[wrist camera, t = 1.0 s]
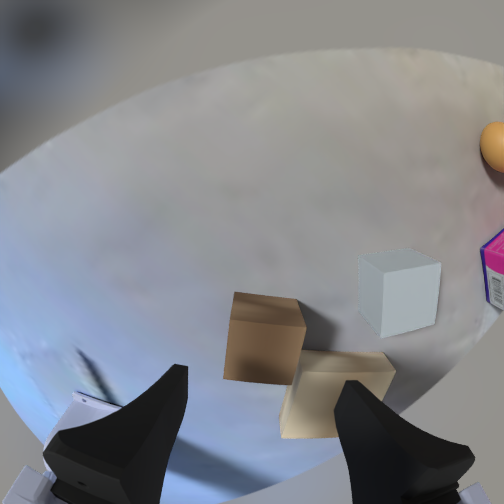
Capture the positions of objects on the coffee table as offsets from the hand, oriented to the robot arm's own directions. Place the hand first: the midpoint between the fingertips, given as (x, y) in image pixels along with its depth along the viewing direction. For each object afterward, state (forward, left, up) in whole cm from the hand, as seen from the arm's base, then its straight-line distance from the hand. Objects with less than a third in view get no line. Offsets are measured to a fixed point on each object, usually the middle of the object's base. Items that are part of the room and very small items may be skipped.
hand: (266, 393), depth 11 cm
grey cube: (+8, +4, -7) cm, 11 cm away
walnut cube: (0, 0, -7) cm, 7 cm away
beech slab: (+6, -5, -8) cm, 11 cm away
